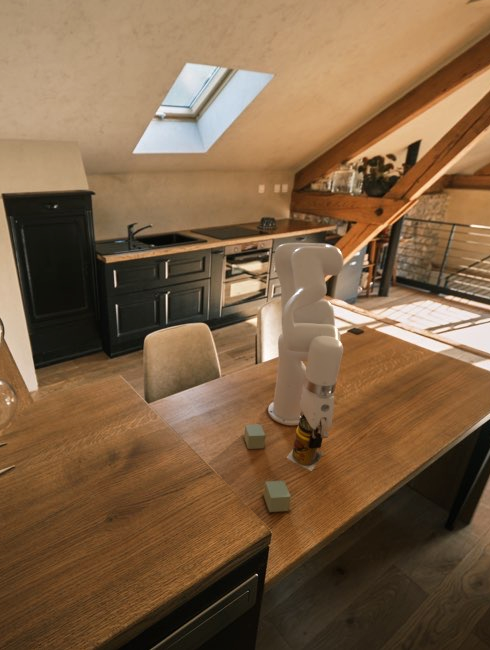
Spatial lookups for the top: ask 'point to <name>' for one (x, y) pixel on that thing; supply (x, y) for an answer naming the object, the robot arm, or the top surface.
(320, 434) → the robot arm
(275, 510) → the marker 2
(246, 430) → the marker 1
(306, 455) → the condiment
